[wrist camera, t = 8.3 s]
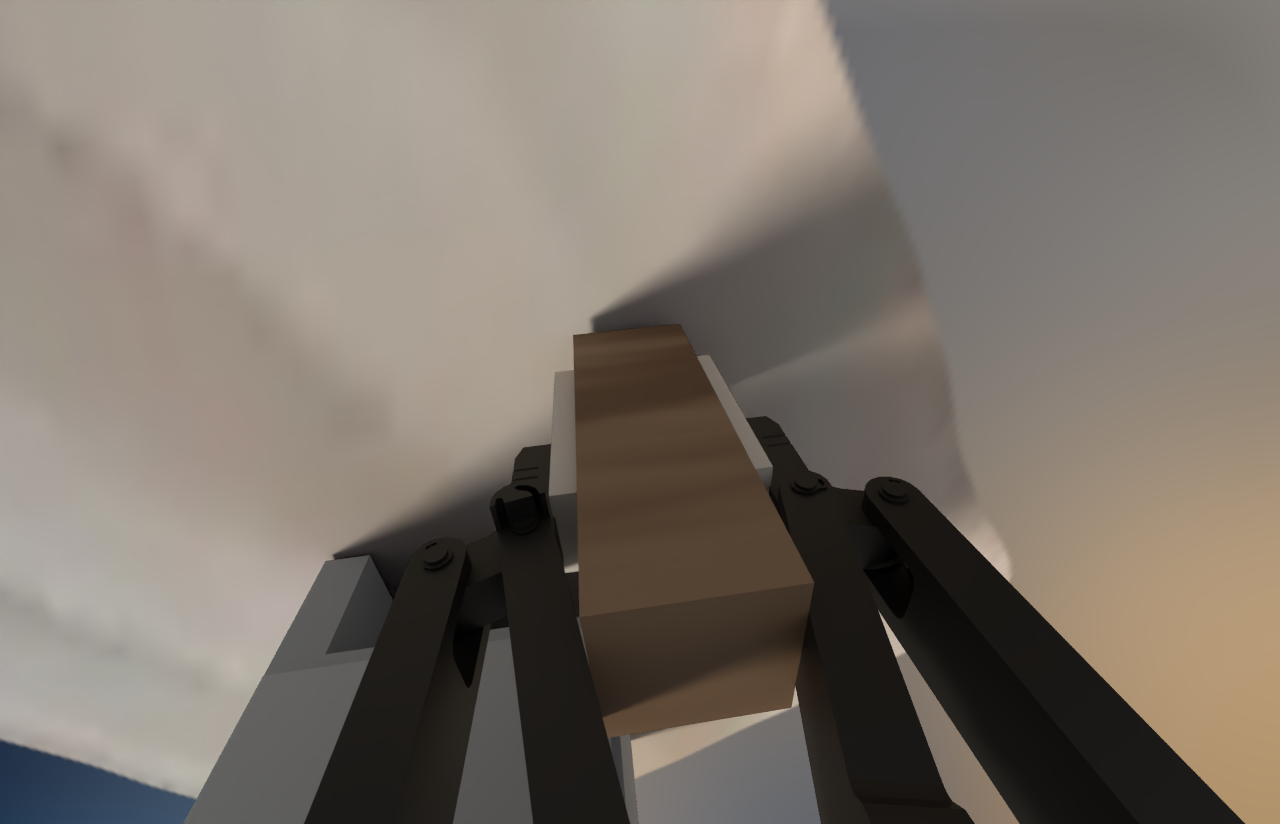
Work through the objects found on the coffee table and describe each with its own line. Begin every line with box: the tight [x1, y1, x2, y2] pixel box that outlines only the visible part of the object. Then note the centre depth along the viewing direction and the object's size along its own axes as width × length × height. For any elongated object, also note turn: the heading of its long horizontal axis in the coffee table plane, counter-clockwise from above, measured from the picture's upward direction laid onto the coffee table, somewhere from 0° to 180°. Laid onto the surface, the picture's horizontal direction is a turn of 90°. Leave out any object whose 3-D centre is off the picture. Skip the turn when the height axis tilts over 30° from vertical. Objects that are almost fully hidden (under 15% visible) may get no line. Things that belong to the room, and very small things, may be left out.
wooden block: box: [573, 324, 814, 738], centre depth 18 cm, size 17×4×12 cm, turn 3°
